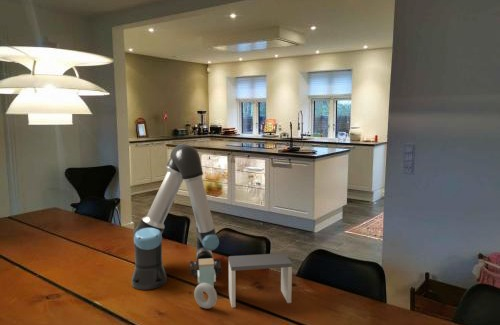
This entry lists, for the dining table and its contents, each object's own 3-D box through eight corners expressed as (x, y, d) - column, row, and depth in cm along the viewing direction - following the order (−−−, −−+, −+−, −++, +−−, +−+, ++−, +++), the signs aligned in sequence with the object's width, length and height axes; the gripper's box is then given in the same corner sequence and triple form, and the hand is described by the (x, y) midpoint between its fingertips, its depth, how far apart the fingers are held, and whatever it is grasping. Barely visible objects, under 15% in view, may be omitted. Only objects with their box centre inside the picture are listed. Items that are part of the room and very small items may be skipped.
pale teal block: (199, 292, 152) (198, 264, 151) (198, 285, 158) (198, 259, 157) (214, 291, 153) (214, 263, 152) (213, 284, 160) (213, 258, 158)
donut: (218, 308, 139) (218, 284, 138) (214, 313, 136) (213, 288, 135) (197, 302, 144) (197, 278, 143) (192, 306, 141) (192, 282, 140)
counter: (231, 307, 140) (231, 267, 138) (228, 294, 151) (228, 256, 149) (291, 302, 144) (292, 263, 142) (284, 289, 155) (284, 253, 153)
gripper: (224, 264, 175) (229, 286, 152) (184, 266, 172) (183, 289, 149) (224, 249, 174) (229, 269, 151) (184, 251, 171) (183, 272, 148)
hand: (206, 279), depth 150 cm, fingers closed on pale teal block, 6 cm apart
